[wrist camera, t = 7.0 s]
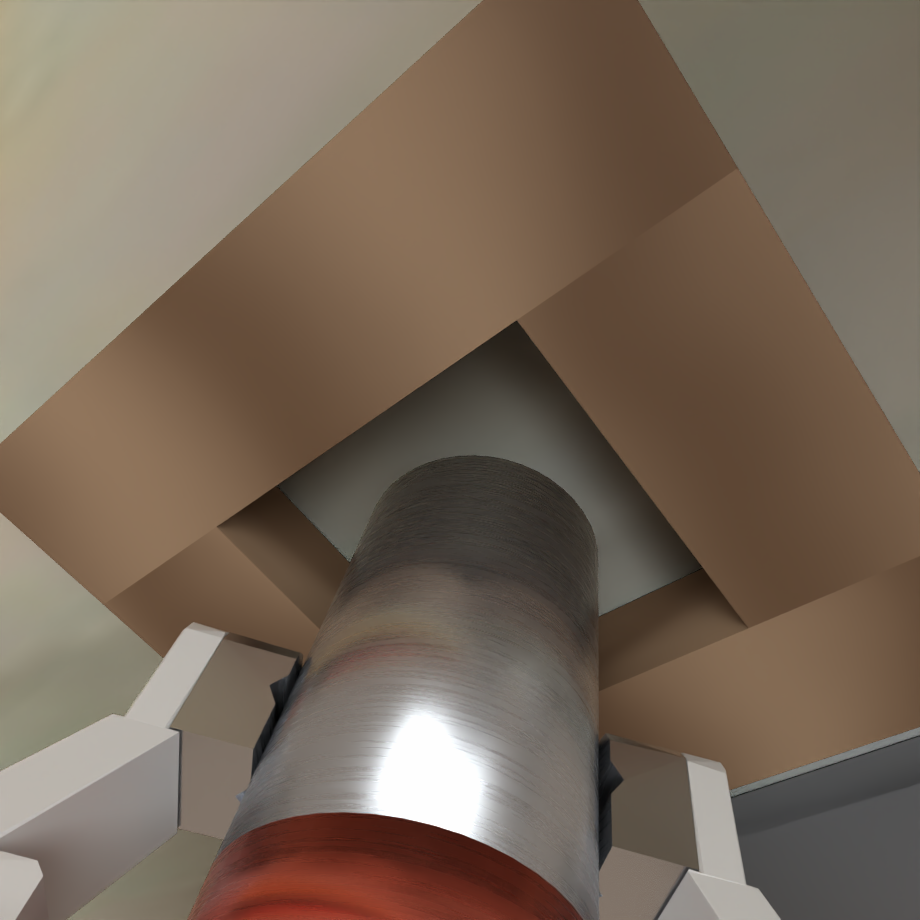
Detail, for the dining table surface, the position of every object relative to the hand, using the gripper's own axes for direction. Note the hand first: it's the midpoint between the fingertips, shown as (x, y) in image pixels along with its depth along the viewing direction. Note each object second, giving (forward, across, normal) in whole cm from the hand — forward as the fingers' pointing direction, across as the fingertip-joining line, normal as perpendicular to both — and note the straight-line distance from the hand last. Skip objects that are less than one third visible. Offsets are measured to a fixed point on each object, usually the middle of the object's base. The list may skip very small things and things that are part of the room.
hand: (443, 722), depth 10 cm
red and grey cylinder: (+4, 0, 0) cm, 4 cm away
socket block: (+5, 0, 0) cm, 5 cm away
